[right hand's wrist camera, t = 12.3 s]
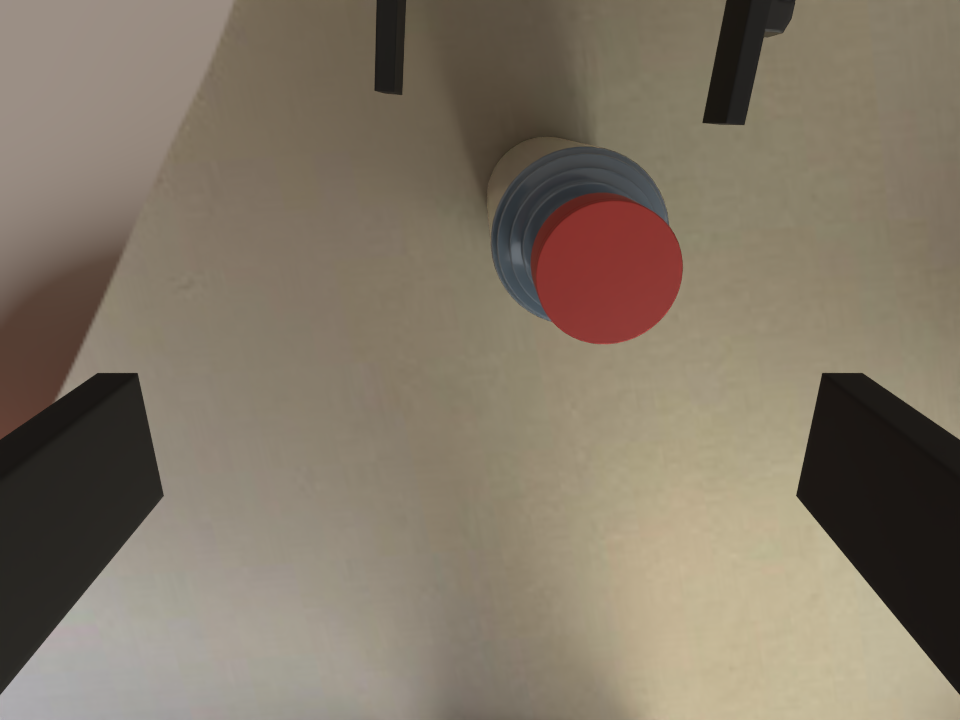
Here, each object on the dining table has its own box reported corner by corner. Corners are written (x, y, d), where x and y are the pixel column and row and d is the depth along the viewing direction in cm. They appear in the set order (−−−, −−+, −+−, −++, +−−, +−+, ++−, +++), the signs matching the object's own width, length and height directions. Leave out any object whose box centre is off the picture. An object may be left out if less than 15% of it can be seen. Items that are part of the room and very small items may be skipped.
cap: (674, 197, 18) (695, 205, 16) (651, 328, 19) (669, 349, 17) (537, 187, 17) (543, 194, 16) (524, 319, 19) (529, 339, 17)
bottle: (610, 141, 32) (741, 162, 16) (594, 258, 34) (696, 382, 18) (491, 132, 32) (503, 145, 16) (482, 251, 34) (486, 368, 18)
